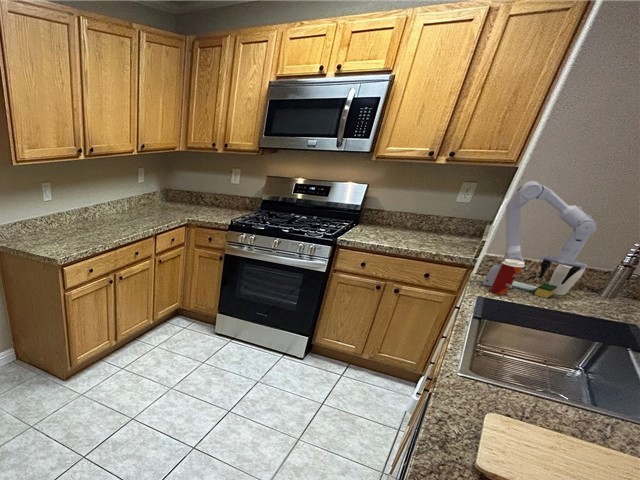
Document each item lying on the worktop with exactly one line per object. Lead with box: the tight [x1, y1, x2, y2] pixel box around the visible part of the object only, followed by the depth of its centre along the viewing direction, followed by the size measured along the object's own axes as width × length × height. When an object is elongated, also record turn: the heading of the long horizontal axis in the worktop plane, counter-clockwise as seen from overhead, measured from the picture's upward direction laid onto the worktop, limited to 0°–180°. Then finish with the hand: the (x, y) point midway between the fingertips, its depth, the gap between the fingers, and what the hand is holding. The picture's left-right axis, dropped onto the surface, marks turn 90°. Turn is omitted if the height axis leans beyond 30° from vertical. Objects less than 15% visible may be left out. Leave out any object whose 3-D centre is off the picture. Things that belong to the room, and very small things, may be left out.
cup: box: [548, 264, 587, 296], centre depth 183 cm, size 9×9×12 cm
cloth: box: [511, 280, 538, 292], centre depth 192 cm, size 11×8×1 cm
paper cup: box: [489, 259, 526, 296], centre depth 180 cm, size 8×8×14 cm
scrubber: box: [534, 283, 557, 299], centre depth 182 cm, size 7×4×4 cm, turn 124°
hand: (551, 281), depth 179 cm, fingers open, 7 cm apart
